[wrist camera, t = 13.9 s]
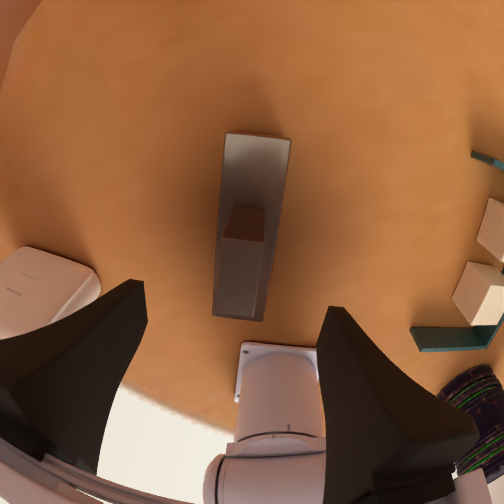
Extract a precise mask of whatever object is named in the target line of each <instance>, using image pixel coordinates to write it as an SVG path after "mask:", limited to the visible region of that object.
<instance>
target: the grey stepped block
mask: <svg viewBox="0 0 504 504" xmlns="http://www.w3.org/2000/svg"><path fill="white" fill-rule="evenodd" d="M290 148H291V139H289V138H284V137H276V136H269V135H261V134H252V133H242V132H232V131H228V132H226V133H225V140H224V150H223V161H222V172H221V184H220V196H219V209H218V222H217V237H216V252H215V269H214V287H213V308H212V315H213V316H218V317H225V318H233V319H240V320H248V321H256V322H263V318H264V312H265V306H266V301H267V295H268V289H269V283H270V277H271V271H272V265H273V259H274V253H275V247H276V240H277V234H278V228H279V221H280V215H281V209H282V202H283V196H284V189H285V182H286V175H287V169H288V162H289V155H290Z"/></svg>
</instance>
